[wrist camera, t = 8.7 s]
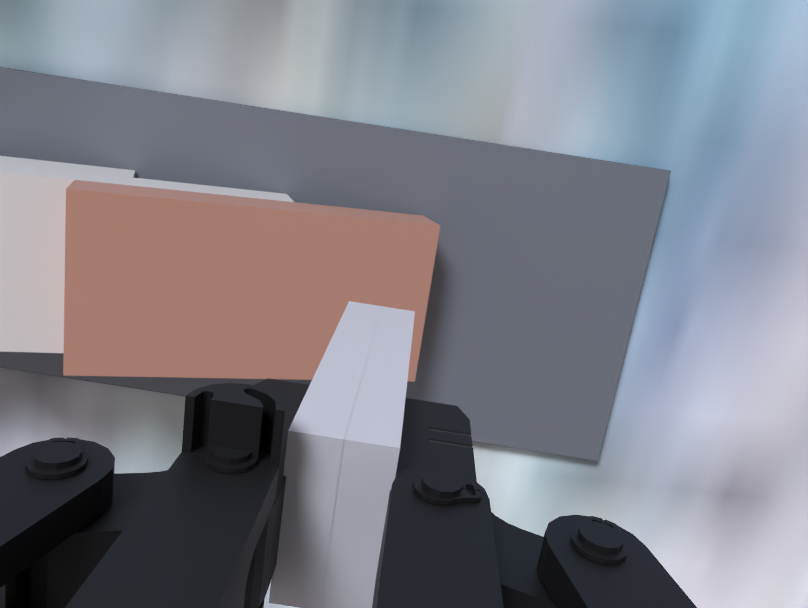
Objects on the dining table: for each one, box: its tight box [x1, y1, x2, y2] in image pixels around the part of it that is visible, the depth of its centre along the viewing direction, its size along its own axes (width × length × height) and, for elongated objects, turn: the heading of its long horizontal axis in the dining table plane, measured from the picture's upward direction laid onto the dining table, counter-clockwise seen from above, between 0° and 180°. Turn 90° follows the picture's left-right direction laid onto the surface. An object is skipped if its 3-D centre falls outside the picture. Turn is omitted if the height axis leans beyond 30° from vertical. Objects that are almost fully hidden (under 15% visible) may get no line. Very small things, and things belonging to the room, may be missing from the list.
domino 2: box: [63, 180, 440, 382], centre depth 20 cm, size 2×5×10 cm
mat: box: [0, 67, 671, 461], centre depth 23 cm, size 30×10×1 cm, turn 81°
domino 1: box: [0, 163, 294, 353], centre depth 20 cm, size 2×5×10 cm
